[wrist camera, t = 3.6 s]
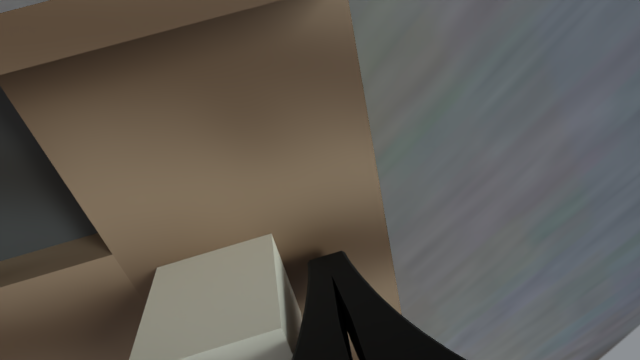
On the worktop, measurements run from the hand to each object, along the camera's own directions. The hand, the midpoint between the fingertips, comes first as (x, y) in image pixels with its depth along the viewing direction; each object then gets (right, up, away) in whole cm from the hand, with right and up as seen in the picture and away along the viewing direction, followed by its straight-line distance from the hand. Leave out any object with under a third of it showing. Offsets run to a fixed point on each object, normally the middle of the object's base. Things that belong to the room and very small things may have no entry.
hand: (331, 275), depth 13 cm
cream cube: (-4, -1, 0) cm, 4 cm away
